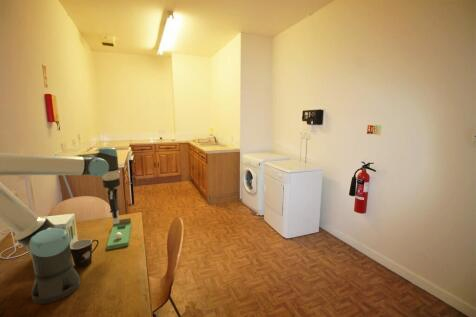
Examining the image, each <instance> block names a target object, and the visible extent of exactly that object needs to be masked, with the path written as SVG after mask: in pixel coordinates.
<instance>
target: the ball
mask: <svg viewBox="0 0 476 317" xmlns="http://www.w3.org/2000/svg"><path fill="white" fill-rule="evenodd" d="M121 237H122V233H120V232H118V233H116V234H115V238H116V239H120V238H121Z"/></svg>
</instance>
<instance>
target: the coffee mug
mask: <svg viewBox="0 0 476 317" xmlns="http://www.w3.org/2000/svg"><path fill="white" fill-rule="evenodd" d="M94 242H97V243H96V244H95V247H94V248H93V243H94ZM98 246H99V240H97V239H94V240H92V239H89V238H86V239H80V240H79V239H78V241H76V242H74V243H72V244H71V245H70V249H71V256H72V262H73V263H74V268H75V269H76V268H77V269H82V268H86V267H88V266H89V265H91V264H92V262H93V261H92V258H93V256H92V255H93V252H95V250H96V249H97V247H98Z"/></svg>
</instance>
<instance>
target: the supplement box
mask: <svg viewBox="0 0 476 317" xmlns="http://www.w3.org/2000/svg"><path fill="white" fill-rule="evenodd" d="M45 217H46V218H47V219H48V220H49V221H50V222H51V223H52V224H55V225H56V226H57V227H58V229H59V228H62V229H64V230H66V231H67V232H68V235H69V238H70V245H71V244H72V243H74V242H76V241H79V239H78V237H79V236H78V231H77V223H76V215H75V213H65V214H57V215H50V216H49V215H48V216H47V215H46V216H45Z"/></svg>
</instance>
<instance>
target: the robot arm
mask: <svg viewBox="0 0 476 317" xmlns="http://www.w3.org/2000/svg"><path fill="white" fill-rule="evenodd" d="M119 168H120V167H119V159H118V150H117V149H116V147H113V146H106V147H99V149H98V152H95V153H94V152H93V153H86V154H77V155H56V154H55V155H53V154H34V153H32V154H31V153H15V152H0V176H93V177H98V178H99V177H101V178H102V185H103V188H104V189H107V195H108V196H107V197H108V202H109V210H110V211H109V213H111V218H112V225H113V224H117V223H119V219H120V218H119V210H120V208H119V203H118V202H119V201H118V200H119V199H118V188H117V187H120V186H121V179H120V174H121V170H120V169H119ZM46 217H47V216H45V215H43V216H42V215H41V216H38V215H37V214H36V213H35V212H34V211H32V210H31V209H30V208H29V207H28V206H27V205H26V204H25V203H24V202H23V201H22V200H21V199H20V198H18V197H17V196H16V195H15V193H13V192H12V191H11V190H10V189H9V188H8V187H7V186H5V185H4V184H3V183H2V182H1V181H0V222H1V223H2V224H4V225H5V226H6V227H8V228H9V229H10V230H11V231H12V232H13V233H14V237H13V238H14V240H16V242H18V243H19V244H20V245H22V246H23V247H24V248H26V250H27V251H28V254H29V255H30V258H31V261H32V262H31V263H32V267H33V273H34V281H33V286H32V289H31V298H32V301H33V302H34V303H35V304H39V305H40V304H41V305H42V304H43V305H45V304H50V303H54V302H58V301H60V300H62V299H64V298H66V297H68V296H70V295H71V294H72V293H74V292H75V291H76V290H77V289H78V288H79V286H80V285H81V278H80V277H81V276H80V275H79V273H78V271H77V269H76V267H75V266H74V265H73V257H72V254H71V249H70V238H69V235H68V232H67V231H66V230H64V229H62V228H59V229H58V227H57V226H56V225H55V224H52V223H51V222H50V221H49V220H48V219H47V218H46Z"/></svg>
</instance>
